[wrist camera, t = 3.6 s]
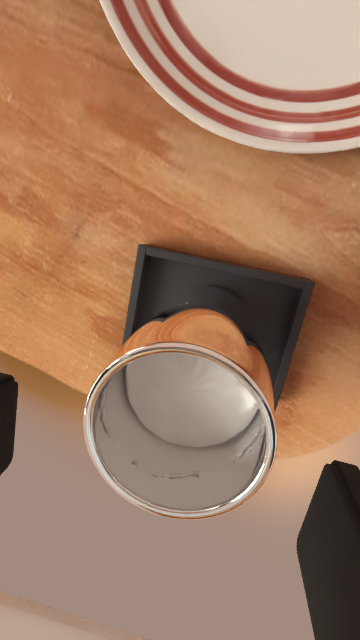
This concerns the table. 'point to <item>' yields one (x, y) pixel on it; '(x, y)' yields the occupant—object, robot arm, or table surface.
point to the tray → (245, 282)
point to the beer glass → (186, 410)
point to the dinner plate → (252, 67)
